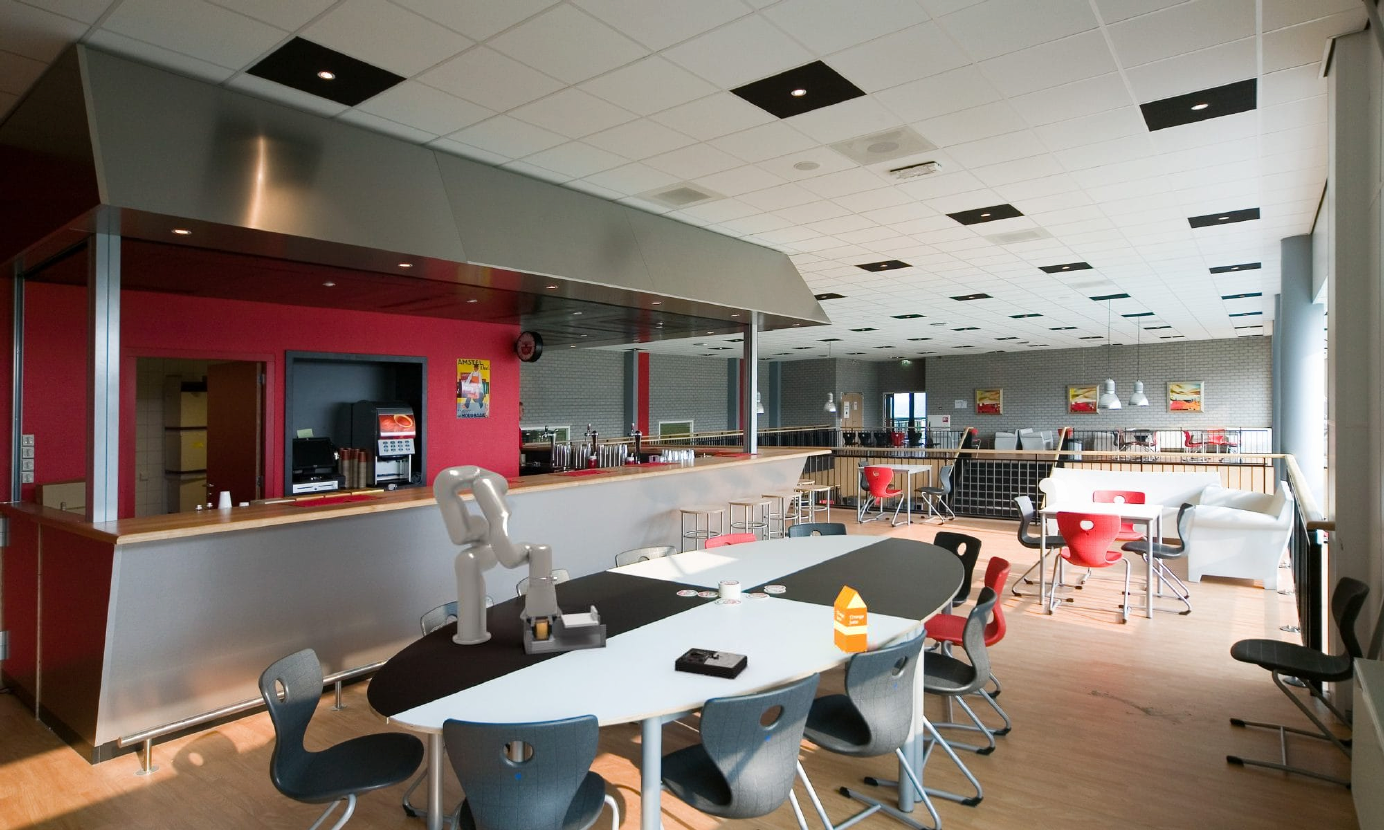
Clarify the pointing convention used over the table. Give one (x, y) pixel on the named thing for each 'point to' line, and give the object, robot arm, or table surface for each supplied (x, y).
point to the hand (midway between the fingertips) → (541, 635)
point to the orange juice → (850, 621)
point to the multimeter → (711, 663)
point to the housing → (565, 638)
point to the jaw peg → (541, 629)
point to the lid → (580, 619)
